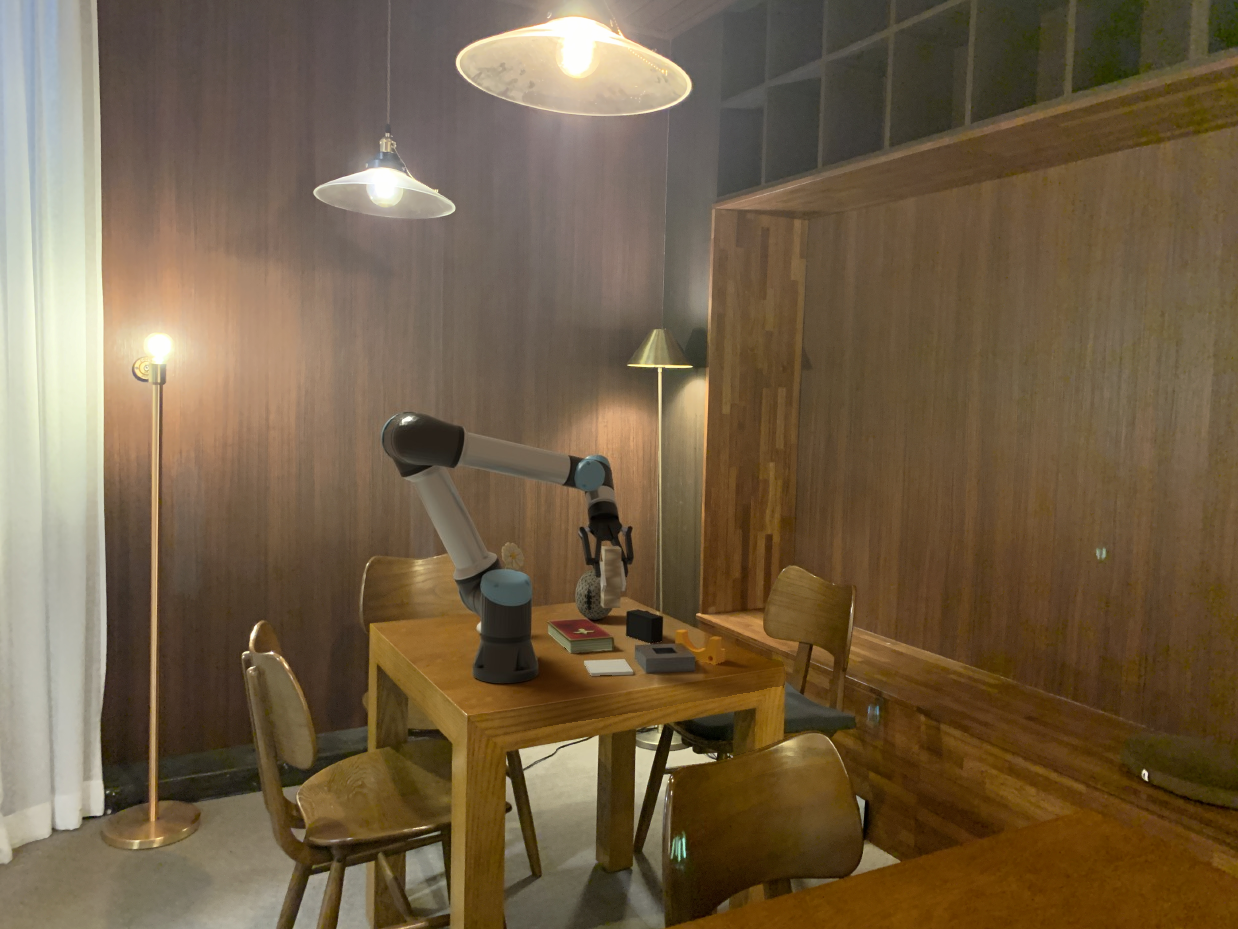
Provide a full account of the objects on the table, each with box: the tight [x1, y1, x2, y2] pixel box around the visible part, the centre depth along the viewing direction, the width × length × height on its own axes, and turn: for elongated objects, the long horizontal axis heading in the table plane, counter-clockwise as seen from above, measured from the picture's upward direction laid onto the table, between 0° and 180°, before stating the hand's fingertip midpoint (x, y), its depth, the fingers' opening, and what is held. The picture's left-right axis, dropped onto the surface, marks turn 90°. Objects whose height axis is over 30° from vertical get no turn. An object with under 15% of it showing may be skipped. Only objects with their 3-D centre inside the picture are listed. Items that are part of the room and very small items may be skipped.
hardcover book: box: [546, 617, 615, 654], centre depth 238 cm, size 12×21×4 cm, turn 21°
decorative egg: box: [574, 568, 613, 621], centre depth 262 cm, size 12×12×15 cm
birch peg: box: [600, 545, 622, 609], centre depth 212 cm, size 4×4×14 cm
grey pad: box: [583, 658, 634, 677], centre depth 213 cm, size 10×10×1 cm
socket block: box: [634, 643, 696, 674], centre depth 218 cm, size 12×12×4 cm
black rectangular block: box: [625, 608, 664, 644], centre depth 242 cm, size 10×5×7 cm, turn 40°
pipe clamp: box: [674, 628, 726, 666], centre depth 224 cm, size 12×4×6 cm, turn 52°
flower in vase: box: [476, 541, 526, 634], centre depth 243 cm, size 13×11×25 cm
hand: (613, 587), depth 208 cm, fingers closed on birch peg, 4 cm apart
